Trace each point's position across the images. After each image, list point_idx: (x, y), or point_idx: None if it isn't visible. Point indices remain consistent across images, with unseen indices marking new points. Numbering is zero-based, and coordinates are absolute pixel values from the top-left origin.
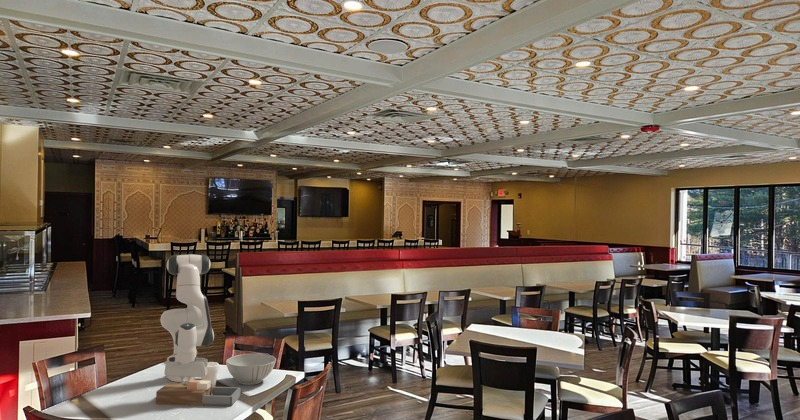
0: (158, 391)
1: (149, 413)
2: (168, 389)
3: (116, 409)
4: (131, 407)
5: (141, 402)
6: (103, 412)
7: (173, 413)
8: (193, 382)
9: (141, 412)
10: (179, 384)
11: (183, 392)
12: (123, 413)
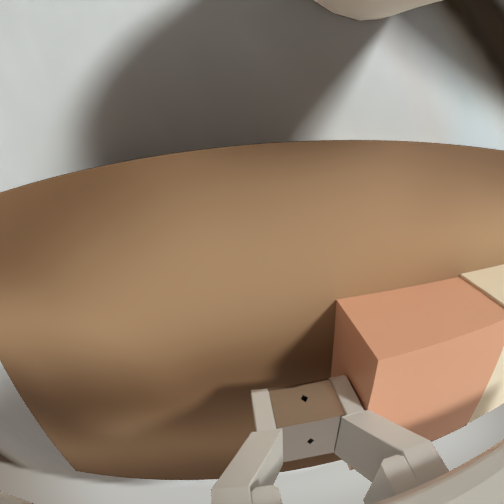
0: (88, 471)
1: (178, 485)
2: (123, 441)
3: (12, 444)
4: (35, 433)
5: (8, 375)
6: (9, 460)
7: (298, 470)
8: (432, 424)
9: (132, 478)
10: (107, 261)
11: (324, 462)
12: (74, 478)
